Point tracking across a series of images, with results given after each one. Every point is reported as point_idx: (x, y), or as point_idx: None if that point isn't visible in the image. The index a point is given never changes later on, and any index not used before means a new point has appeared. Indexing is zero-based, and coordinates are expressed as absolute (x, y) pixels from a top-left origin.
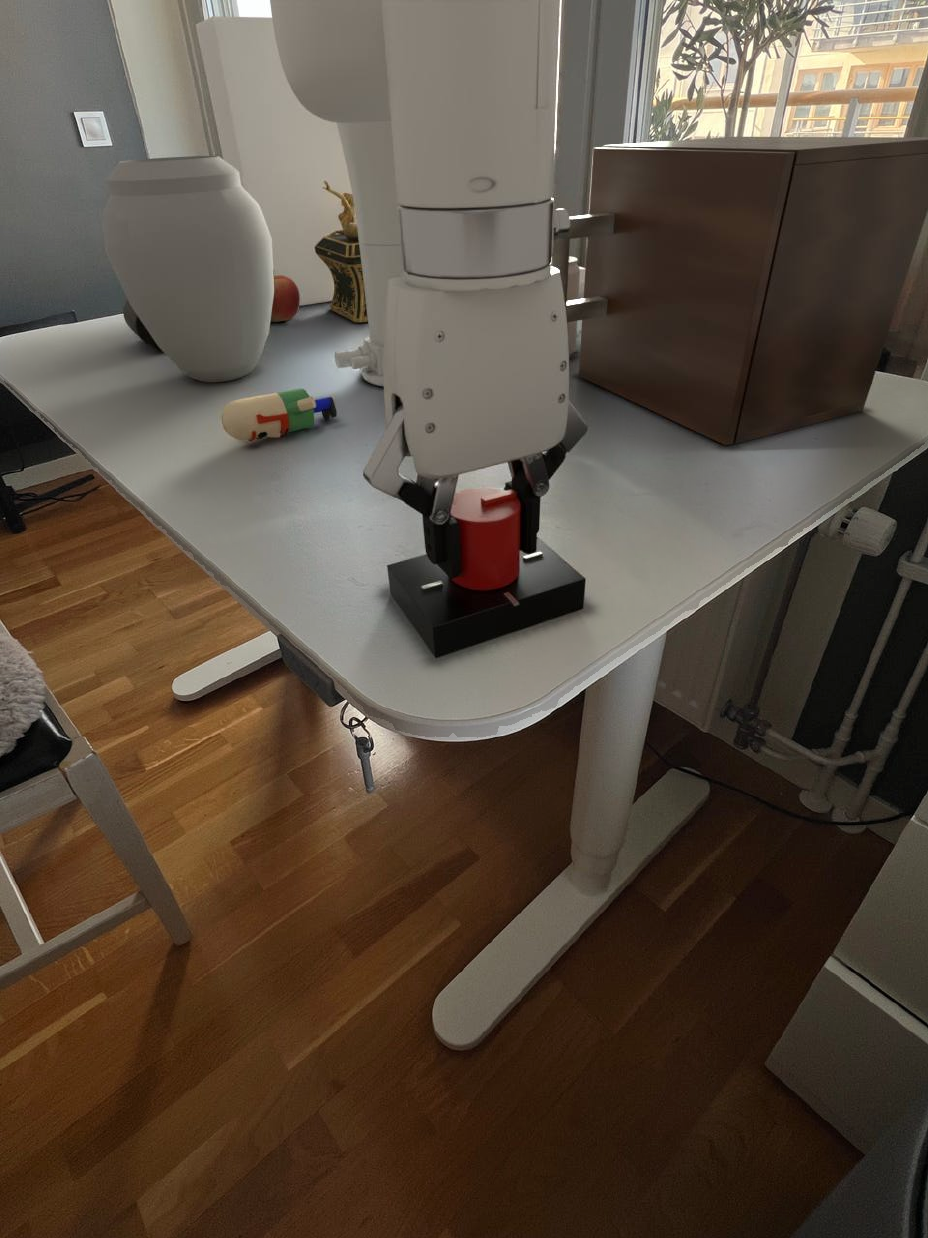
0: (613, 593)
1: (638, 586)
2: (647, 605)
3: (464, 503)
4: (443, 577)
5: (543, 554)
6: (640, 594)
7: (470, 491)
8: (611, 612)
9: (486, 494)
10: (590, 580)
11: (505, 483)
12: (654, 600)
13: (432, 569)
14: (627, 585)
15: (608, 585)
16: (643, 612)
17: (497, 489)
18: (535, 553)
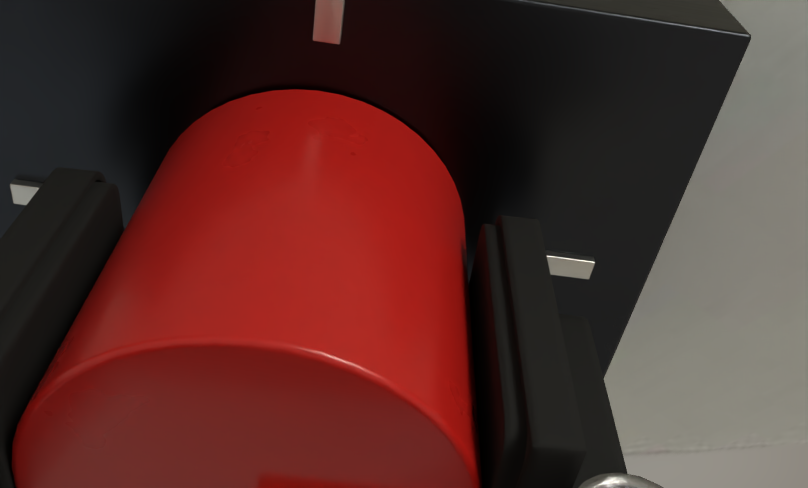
0: (700, 337)
1: (787, 353)
2: (711, 413)
3: (150, 466)
4: (131, 170)
5: (595, 269)
6: (750, 377)
7: (270, 378)
8: (611, 385)
9: (336, 458)
10: (717, 257)
11: (531, 442)
12: (747, 410)
13: (108, 86)
14: (771, 334)
15: (730, 305)
16: (674, 424)
17: (438, 452)
18: (565, 265)
